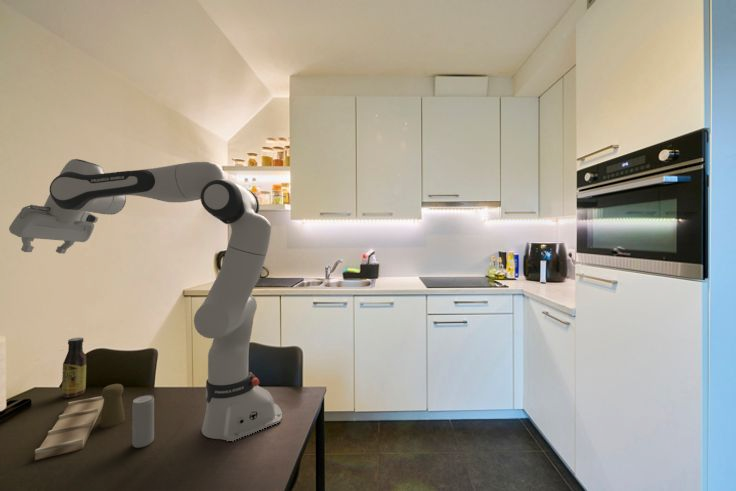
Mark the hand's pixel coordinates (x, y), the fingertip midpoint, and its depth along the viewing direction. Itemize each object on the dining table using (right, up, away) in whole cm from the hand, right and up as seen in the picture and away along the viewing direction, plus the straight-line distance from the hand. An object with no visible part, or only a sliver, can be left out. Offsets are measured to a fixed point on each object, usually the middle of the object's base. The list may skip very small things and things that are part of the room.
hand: (43, 252), depth 96 cm
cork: (+20, -51, +1) cm, 55 cm away
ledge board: (+11, -51, -2) cm, 52 cm away
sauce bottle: (-8, -51, +18) cm, 55 cm away
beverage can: (+36, -52, -9) cm, 64 cm away
